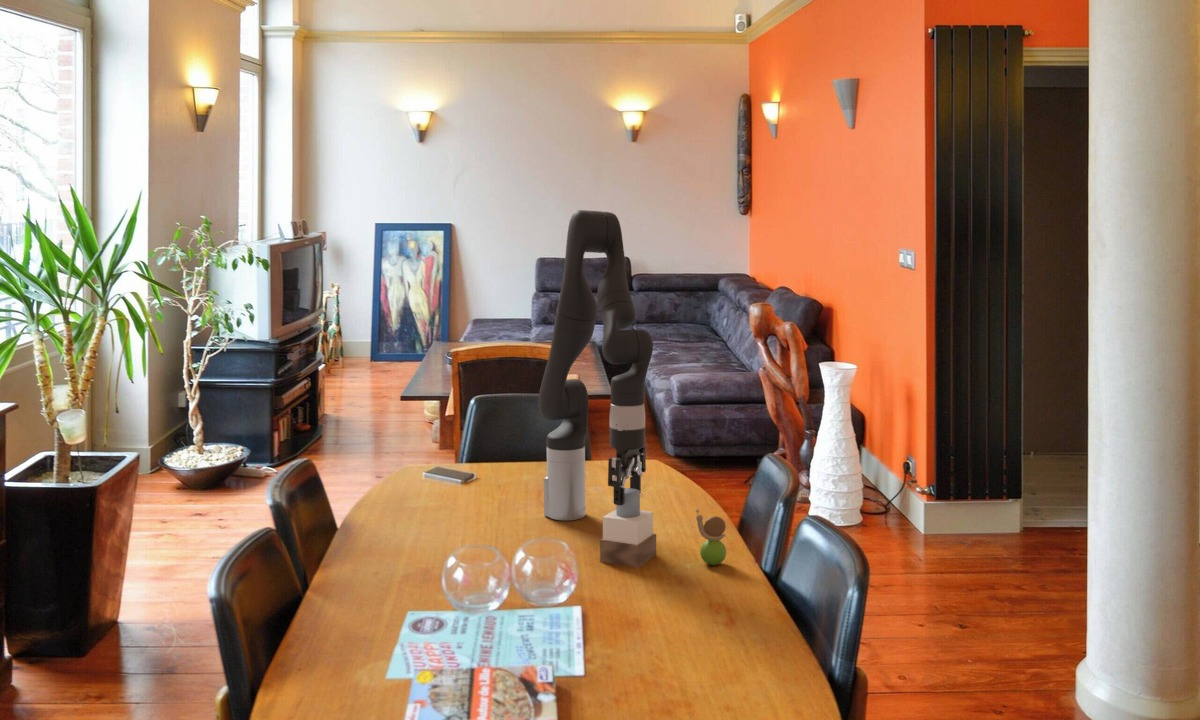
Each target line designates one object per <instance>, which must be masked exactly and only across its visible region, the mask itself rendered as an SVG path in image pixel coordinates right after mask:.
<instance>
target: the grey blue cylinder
mask: <svg viewBox="0 0 1200 720" xmlns="http://www.w3.org/2000/svg"><path fill="white" fill-rule="evenodd" d="M624 488H625V487H624ZM615 507H616V508H615V509H616V515H617V516H619V517H624V518H633V517H637V516H639V515H640V510H641V493H640V491H639V490H637V489H632V488H630V487H629V488H628V487H627V488H625V503H624V504H623V505H615Z"/></svg>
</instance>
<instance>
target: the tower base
mask: <svg viewBox="0 0 1200 720" xmlns="http://www.w3.org/2000/svg"><path fill="white" fill-rule="evenodd" d="M656 556H657V533H654V532H653V535H651V536H650V537H648V538H647V539H645V540H644V541H643V542H641V543H640V544H638V545H633V544H627V543H620V542H614V541H607V540H603V537H602V538H600V539H599V562H601V563H607V564H612V565H618V566H619V565H620V566H624V567H630V568H636V569H639V568H641V567H642V566H644V565H645V564H646V563H647V562H650V560H652V559H653V558H655V557H656Z"/></svg>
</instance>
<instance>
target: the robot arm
mask: <svg viewBox="0 0 1200 720" xmlns="http://www.w3.org/2000/svg"><path fill="white" fill-rule="evenodd" d="M568 223H569V224H568V229H567V235H566V236H567V237H566V245H565V246H566V247H565V256H564V257H565V258H564V267H563V276H562V281H561V287H560V293H559V296H558V297H559V298H558V302H557V308H556V312H555V319H554V327H553V332H552V338H551V344H550V350H549V355H548V360H547V362H546V366H545V369H544V374H543V377H542V380H541V385H540V389H539V395H538V407H539V411H540V412H539V413H540V414H541V416H542V418H544V419H545V420H548V421H560V420H562V422H561V423H560V424H559V426H558V427H556V428H555V429H554V430H552V431H551V432H549V433H548V434H547V436H546V476H545V477H544V478H543V516H544V517H548V518H549V519H552V520H557V521H575V520H579V519H582V518H584V517H586V507H587V506H586V439H587V436H588V424H589V423H588V422H589V420H588V419H589V394H588V389H587V387H586V385H585V383H584V382H583V381H582V380H581V379H578V378H571V379H567V378H568V375H569V372H570V370H571V368H572V367H573V364H574V363H575V362H576V360H577V359H578V358H579V356H580V355H581V354H582V352H583V351H584V350H585V348H586V347H587V346H588V344H589V343H590V341H591V339H592V337H593V334H594V330H595V327H596V326H595V325H596V321H597V315H598V307H599V310H600V313H601V317H602V325H603V326H602V327H603V329H602V330H603V331H602V332H603V333H602V345H601V353H602V356H603V359H604V360H605V361H606V362H608V363H609V364H611V365H629V364H631V366H630V367H629V370H628V371H626V372H624V373H623V372H622V373H621V374H617V375H615V376H613V377H612V378H611V380H610V408H609V446H610V448H612V449H615V457H609V458H608V462H607V463H608V465H607V466H608V467H607V469H608V470H607V473H608V474H607V485H608V487H611V488H612V487H613V504H614V505H615V506H616V505H623V504H624V503H625V485H626V481H627V480H628V479H629V488H632V489H637V490H639V491H640V494H641V492H642V483H641V482H642V477H643V473H646V469H647V464H646V463H647V462H646V461H647V460H646V409H645V385H646V377H647V374H648V370H649V366H650V363H651V360H652V357H653V351H654V341H653V338H652V335H651V334H650V333H649V332H648V331H647V330H645V329H627V328H629V327H631V326H632V325H633V324H634V323H635V321H636V319H637V318H636V317H637V316H636V315H637V314H636V311H635V307H634V303H633V299H632V297H631V293H630V288H629V285H628V279H627V271H626V270H627V269H626V260H625V259H626V258H625V249H624V241H623V233H622V227H621V223H620V221H619V218H618V217H617V215H616V214H615V213H613V212H609V211H600V210H599V211H598V210H585V209H584V210H583V209H578V210H575V211H574V212H573V213H572V214H571V216H570V219H569V222H568ZM585 253H593V254H594V253H597V254H605V256H606V259H607V265H606V268H605V270H604V273H603V274H602V276H601V278H600V281H599V284H598V286H597V293H596V294H597V295H596V296H597V300H596V298H595V296H594V294H593V292H592V289H591V287H590V285H589V283H588V280H587V278H586V275H585V271H584V257H585ZM597 303H598V305H599V306H598V305H597Z"/></svg>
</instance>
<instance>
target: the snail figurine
mask: <svg viewBox="0 0 1200 720" xmlns="http://www.w3.org/2000/svg"><path fill="white" fill-rule="evenodd" d="M695 512H696V518H695V519H696V521H697V527H698V531H699V534H700V535H701V536H702V537H703V538H704V539H705V541H704V542H703V543H702V545H701V547H700V548H699V549H700V551H699V552H700V553H699V554H700V557H701V559H702V560H703V562H704V563H705V564H707V565H709V566H716V565H719V564H721V563H722V562H723V561H724V560H725V559H726V556H727V548H726V545H725V544H724V543H723V542H722V541H721V540H722V539H724V538H725V536H726V534H725V531H726V527H727V526H726V522H725V521H724V519H723V518H722V517H720V516H711V517H708V519H706V520H705V522H703V519H704V517H703V515H702V514H699V512H700V510H699V508H698V509H697V508H696V509H695Z"/></svg>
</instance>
